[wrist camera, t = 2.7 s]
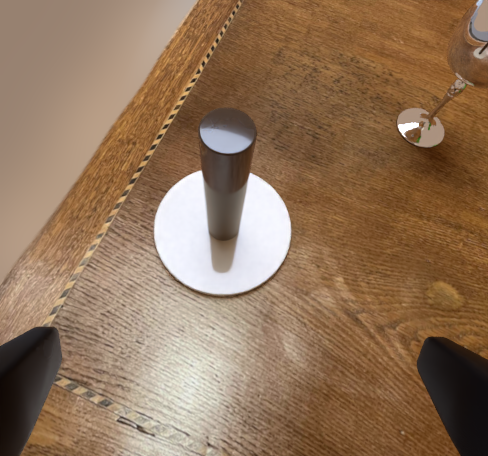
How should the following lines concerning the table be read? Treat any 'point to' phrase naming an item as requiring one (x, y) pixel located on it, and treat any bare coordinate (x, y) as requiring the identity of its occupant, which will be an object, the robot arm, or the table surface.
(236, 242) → the pole on white disc
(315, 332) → the table surface
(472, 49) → the wineglass
